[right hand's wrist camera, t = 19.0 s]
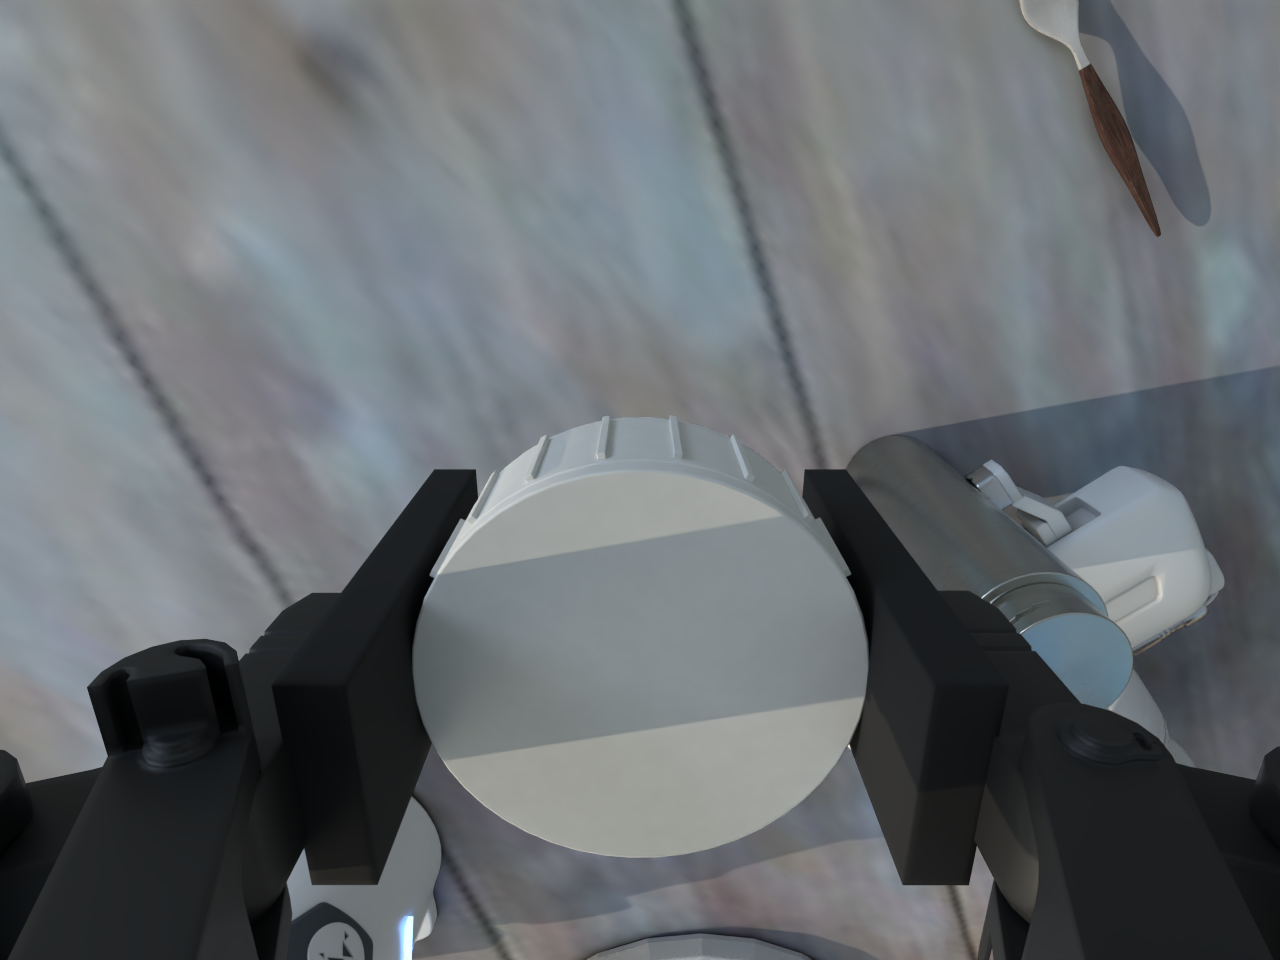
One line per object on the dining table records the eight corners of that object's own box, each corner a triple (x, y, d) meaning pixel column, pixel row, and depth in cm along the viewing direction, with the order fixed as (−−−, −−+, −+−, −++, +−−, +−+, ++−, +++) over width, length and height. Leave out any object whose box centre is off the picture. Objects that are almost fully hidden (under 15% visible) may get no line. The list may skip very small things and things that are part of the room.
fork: (1127, 251, 38) (1152, 254, 36) (989, -55, 34) (1010, -70, 32) (1177, 220, 38) (1205, 221, 36) (1044, -95, 33) (1067, -113, 31)
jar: (832, 453, 42) (967, 631, 25) (927, 421, 42) (1135, 580, 24) (856, 536, 44) (999, 757, 27) (948, 506, 43) (1156, 712, 26)
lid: (751, 787, 14) (772, 902, 11) (414, 699, 13) (367, 803, 11) (894, 481, 11) (954, 549, 9) (501, 358, 11) (466, 400, 9)
